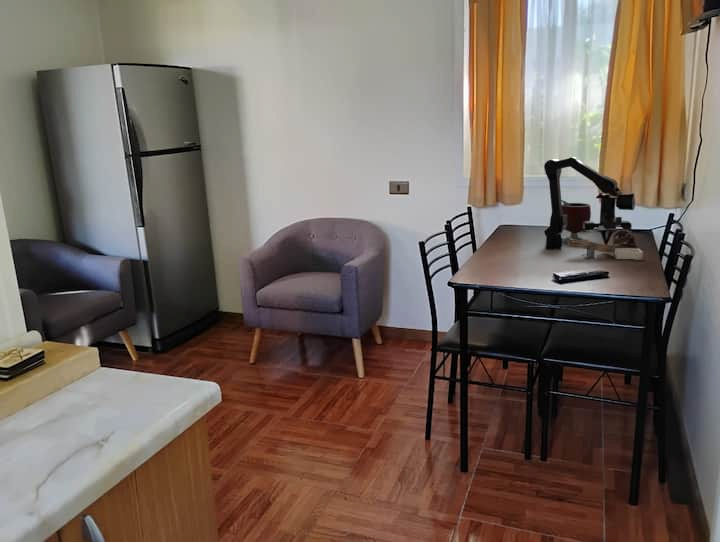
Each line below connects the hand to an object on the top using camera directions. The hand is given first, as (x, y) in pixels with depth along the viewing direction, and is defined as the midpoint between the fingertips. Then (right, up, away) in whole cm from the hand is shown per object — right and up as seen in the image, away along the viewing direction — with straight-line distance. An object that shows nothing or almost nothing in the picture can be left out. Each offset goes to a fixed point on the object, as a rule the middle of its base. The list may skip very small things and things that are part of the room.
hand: (605, 245), depth 261 cm
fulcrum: (-9, -5, -7) cm, 13 cm away
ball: (+7, -4, -11) cm, 14 cm away
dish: (+5, -6, -10) cm, 13 cm away
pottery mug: (+14, 0, +15) cm, 20 cm away
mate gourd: (-4, +3, +29) cm, 30 cm away
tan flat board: (-9, -1, -4) cm, 10 cm away
